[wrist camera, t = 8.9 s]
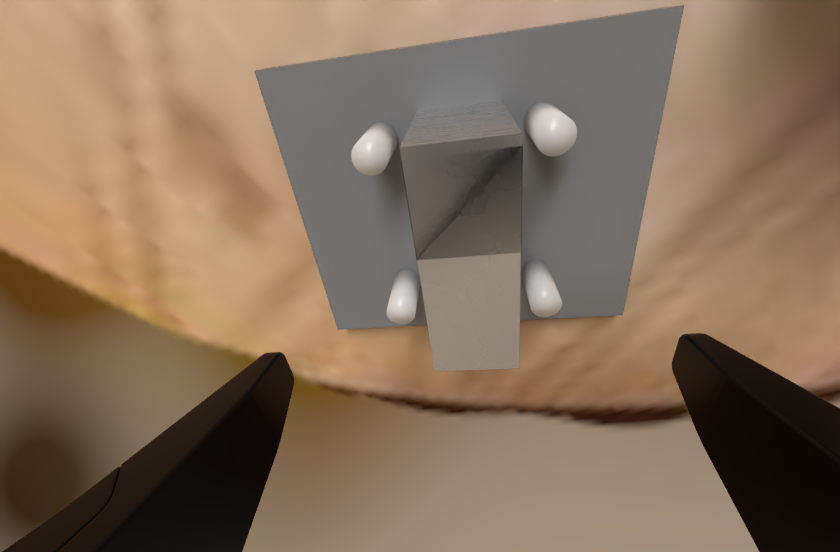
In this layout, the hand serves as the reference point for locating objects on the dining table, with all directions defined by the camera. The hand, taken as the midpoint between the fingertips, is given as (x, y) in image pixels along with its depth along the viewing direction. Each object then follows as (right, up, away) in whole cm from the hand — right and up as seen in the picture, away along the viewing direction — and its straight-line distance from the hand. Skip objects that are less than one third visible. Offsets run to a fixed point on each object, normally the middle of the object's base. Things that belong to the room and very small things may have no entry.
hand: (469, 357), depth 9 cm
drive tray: (+1, +5, +8) cm, 9 cm away
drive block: (+1, +5, +7) cm, 8 cm away
